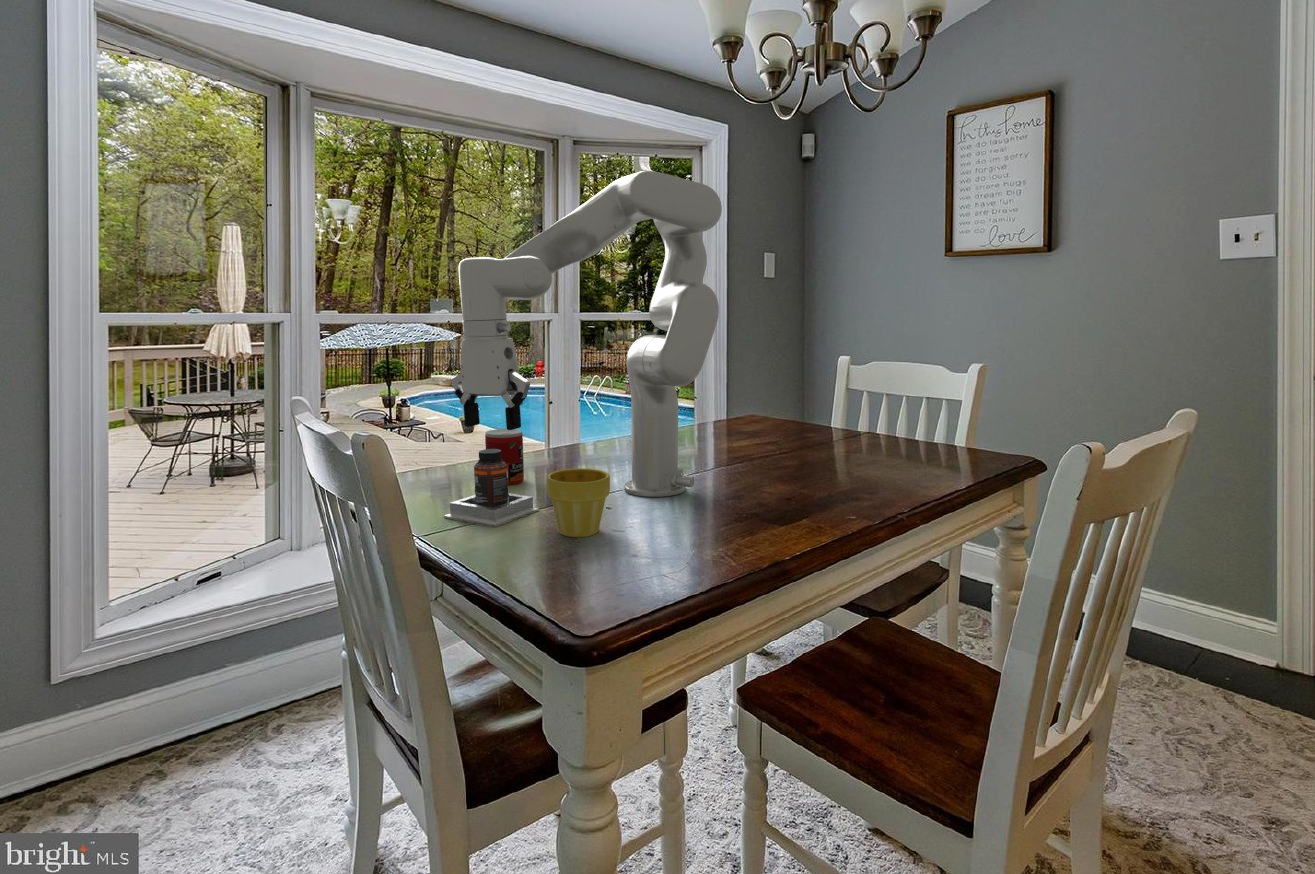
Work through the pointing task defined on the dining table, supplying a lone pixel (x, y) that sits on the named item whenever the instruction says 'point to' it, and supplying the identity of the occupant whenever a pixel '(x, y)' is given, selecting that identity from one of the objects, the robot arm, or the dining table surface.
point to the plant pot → (578, 499)
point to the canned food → (508, 451)
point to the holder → (491, 510)
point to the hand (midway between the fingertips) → (492, 427)
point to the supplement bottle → (491, 479)
